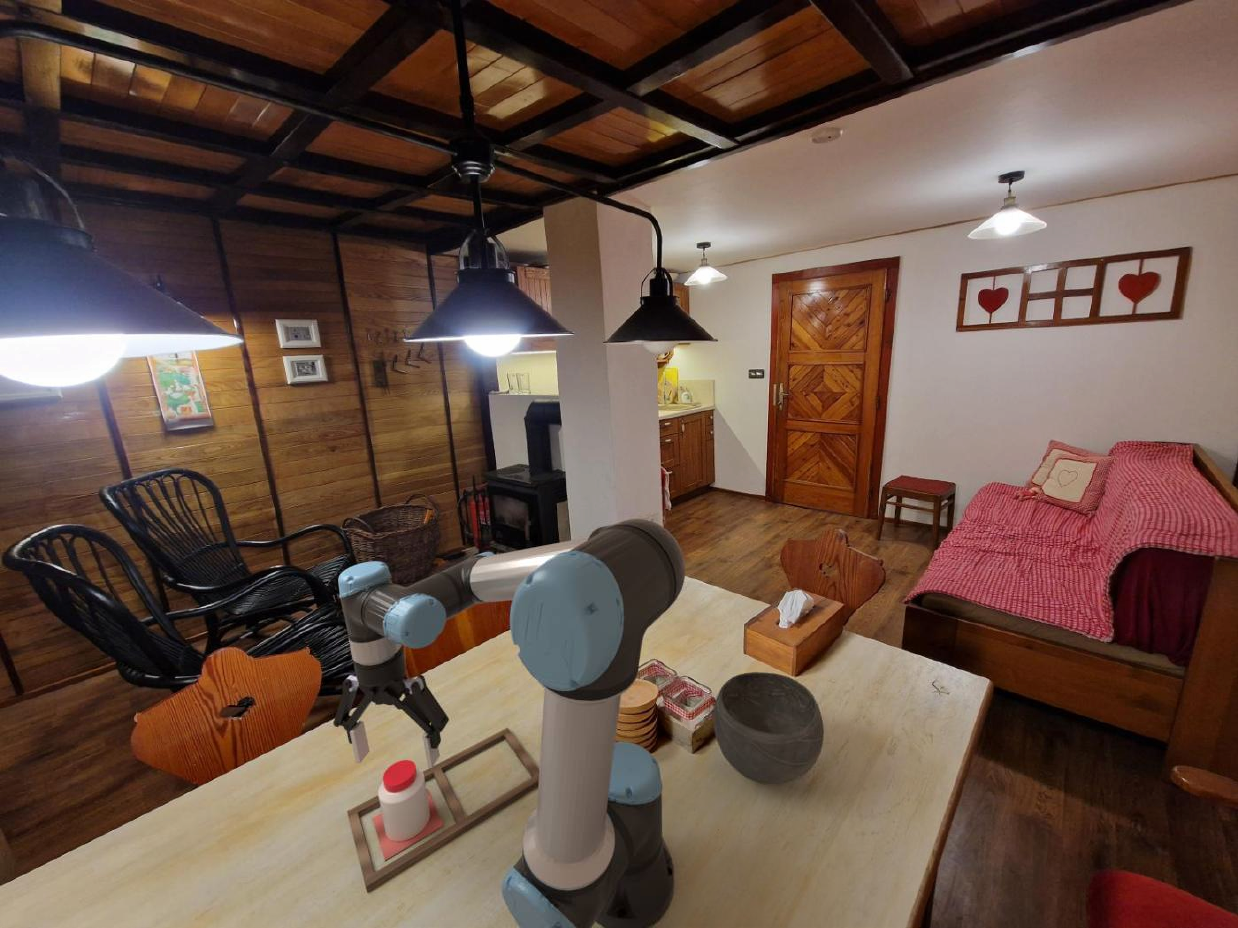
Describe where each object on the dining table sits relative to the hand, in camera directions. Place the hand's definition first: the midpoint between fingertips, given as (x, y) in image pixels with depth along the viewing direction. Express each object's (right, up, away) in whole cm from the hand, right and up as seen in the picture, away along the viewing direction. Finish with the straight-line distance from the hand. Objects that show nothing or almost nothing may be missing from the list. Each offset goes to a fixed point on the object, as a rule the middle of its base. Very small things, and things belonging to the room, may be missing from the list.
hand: (398, 759), depth 87 cm
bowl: (+69, -9, +13) cm, 71 cm away
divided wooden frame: (+6, -12, +8) cm, 16 cm away
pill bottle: (0, -14, +4) cm, 14 cm away
